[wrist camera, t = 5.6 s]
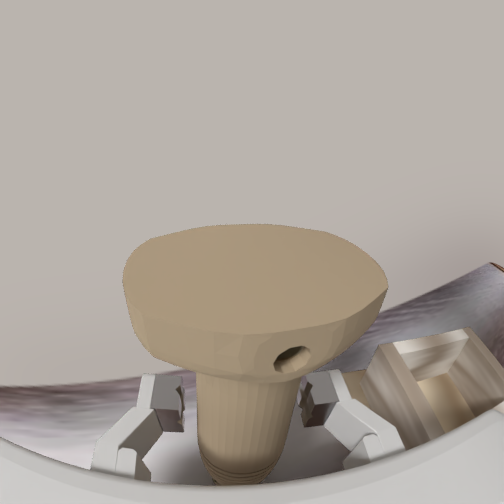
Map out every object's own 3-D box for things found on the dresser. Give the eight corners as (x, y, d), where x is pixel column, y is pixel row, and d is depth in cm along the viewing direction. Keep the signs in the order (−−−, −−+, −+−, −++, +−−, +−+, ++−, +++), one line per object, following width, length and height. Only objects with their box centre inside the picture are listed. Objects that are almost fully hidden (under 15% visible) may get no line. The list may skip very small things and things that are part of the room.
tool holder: (375, 513, 10) (421, 489, 8) (330, 383, 21) (349, 334, 18) (522, 425, 12) (556, 387, 10) (470, 350, 23) (492, 311, 20)
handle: (180, 448, 15) (134, 229, 8) (274, 434, 16) (328, 222, 10) (192, 512, 11) (108, 346, 4) (298, 491, 12) (423, 302, 6)
